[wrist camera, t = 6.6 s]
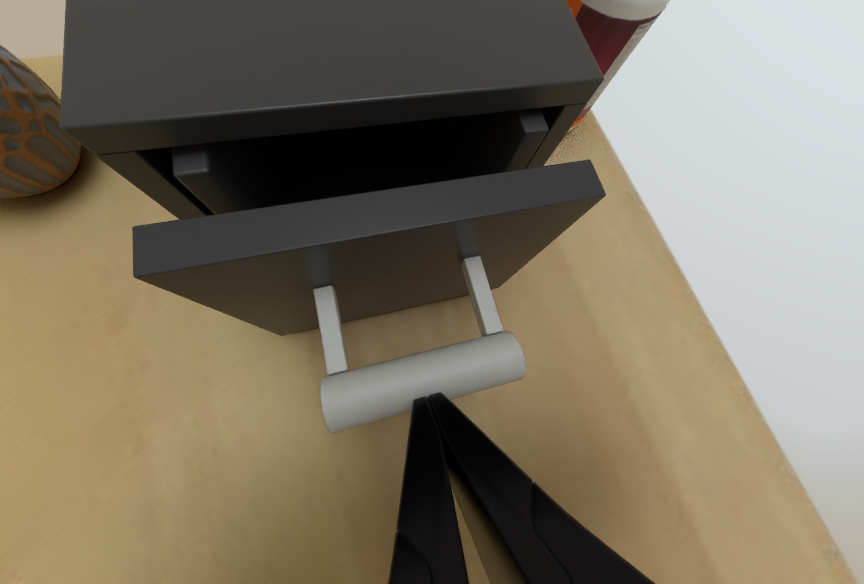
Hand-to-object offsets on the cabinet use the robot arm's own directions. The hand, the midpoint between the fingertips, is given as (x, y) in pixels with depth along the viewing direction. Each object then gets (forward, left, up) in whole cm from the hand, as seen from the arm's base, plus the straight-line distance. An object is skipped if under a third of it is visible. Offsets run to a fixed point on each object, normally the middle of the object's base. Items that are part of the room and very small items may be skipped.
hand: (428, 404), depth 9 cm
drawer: (+9, +1, -6) cm, 11 cm away
